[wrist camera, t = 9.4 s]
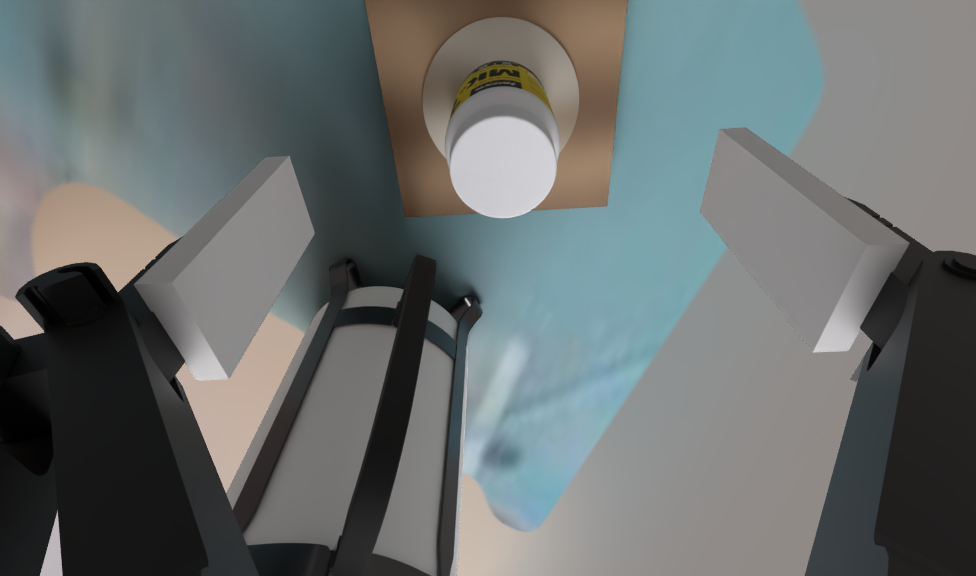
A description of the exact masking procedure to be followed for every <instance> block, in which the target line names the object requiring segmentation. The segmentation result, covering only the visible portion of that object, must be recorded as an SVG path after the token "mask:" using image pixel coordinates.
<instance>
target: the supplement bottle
mask: <svg viewBox="0 0 976 576" xmlns="http://www.w3.org/2000/svg"><path fill="white" fill-rule="evenodd" d="M559 152H560V132H559V128H558V124H557V121H556V118H555V116H554V113H553V111H552V108H551V106H550V103H549V100H548V98H547V95H546V92H545V90H544V87H543V85H542V84H541V82H540V80H539V79H538V78H537V76H536V75H535V74H534V73H533V72H532V71H531V70H530V69H528V68H527V67H525V66H524V65H522V64H519V63H517V62H514V61H510V60H494V61H490V62H487V63H484V64H482V65H480V66H478V67H477V68H475V69H474V70H473V71H472V72H471V73H469V75H468V76H467V77H466V78H465V79H464V81H463V82H462V84H461V85H460V87H459V89H458V92H457V95H456V97H455V101H454V105H453V109H452V112H451V115H450V119H449V123H448V126H447V130H446V135H445V155H446V160H447V164H448V167H449V172H450V178H451V181H452V184H453V187H454V189H455V191H456V193H457V194H458V196H459V197H460V198H461V200H462V201H463V202H464V203H465V204H466V205H468V206H469V207H470V208H471V209H473V210H475V211H476V212H478V213H480V214H483V215H485V216H489V217H494V218H511V217H515V216H519V215H522V214H525V213H527V212H528V211H530V210H532V209H533V208H535V207H536V206H538V205H539V204H540V203H541V202H542V201H543V200H544V199H545V197H546V196H547V195H548V193H549V192H550V190H551V188H552V186H553V183H554V181H555V177H556V172H557V161H558V157H559Z"/></svg>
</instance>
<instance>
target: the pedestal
mask: <svg viewBox="0 0 976 576" xmlns="http://www.w3.org/2000/svg"><path fill="white" fill-rule="evenodd" d="M627 2H628V0H365V5H366V10H367V15H368V21H369V26H370V32H371V37H372V42H373V48H374V53H375V59H376V64H377V69H378V75H379V80H380V86H381V91H382V96H383V102H384V107H385V113H386V118H387V123H388V129H389V134H390V140H391V145H392V150H393V156H394V161H395V166H396V172H397V177H398V183H399V188H400V193H401V199H402V204H403V210H404V215H405V217H420V216H439V215H457V214H475V213H478V212H476V211H475V210H473V209H471V208H470V207H469V206H468V205H466V204H465V203H464V202H463V201H462V200H461V198H460V197H459V196H458V194H457V193H456V191H455V189H454V187H453V184H452V181H451V178H450V172H449V167H448V164H447V160H446V155H445V135H446V130H447V126H448V123H449V119H450V115H451V112H452V109H453V105H454V101H455V97H456V95H457V92H458V89H459V87H460V85H461V84H462V82H463V81H464V79H465V78H466V77H467V76H468V75H469V73H471V72H472V71H473V70H474V69H475V68H477V67H478V66H480V65H482V64H484V63H487V62H490V61H494V60H510V61H514V62H517V63H519V64H522V65H524V66H525V67H527V68H528V69H530V70H531V71H532V72H533V73H534V74H535V75H536V76H537V78H538V79H539V80H540V82H541V84H542V85H543V87H544V90H545V92H546V95H547V98H548V100H549V103H550V106H551V108H552V111H553V113H554V116H555V118H556V121H557V124H558V128H559V132H560V152H559V157H558V161H557V172H556V177H555V181H554V183H553V186H552V188H551V190H550V192H549V193H548V195H547V196H546V197H545V199H544V200H543V201H542V202H541V203H540V204H539V205H538V206H536V207H535V208H533V209H532V210H549V209H567V208H586V207H604V206H607V204H608V194H609V184H610V174H611V164H612V154H613V144H614V134H615V123H616V113H617V103H618V93H619V83H620V73H621V63H622V53H623V43H624V32H625V22H626V12H627ZM530 211H531V210H530Z"/></svg>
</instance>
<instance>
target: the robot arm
mask: <svg viewBox="0 0 976 576" xmlns="http://www.w3.org/2000/svg"><path fill="white" fill-rule="evenodd" d="M700 212H701V214H702V215H703V216H704V217H705V219H706V220H707V221H708V222H709V224H710V225H711V226H712V227H713V229H714V230H715V231H716V232H717V234H718V235H719V236H720V237H721V239H722V240H723V241H724V242H725V244H726V245H727V246H728V247H729V249H730V250H731V251H732V252H733V253H734V255H735V256H736V257H737V258H738V260H739V261H740V262H741V264H742V265H743V266H744V267H745V269H746V270H747V271H748V272H749V274H750V275H751V276H752V277H753V279H754V280H755V281H756V282H757V283H758V285H759V286H760V287H761V288H762V290H763V291H764V292H765V293H766V295H767V296H768V297H769V299H770V300H771V301H772V302H773V304H774V305H775V306H776V307H777V308H778V310H779V311H780V312H781V314H782V315H783V316H784V317H785V319H786V320H787V321H788V322H789V324H790V325H791V326H792V327H793V328H794V330H795V331H796V332H797V333H798V335H799V336H800V337H801V338H802V340H803V341H804V342H805V343H806V345H807V346H808V347H809V348H810V350H811V351H812V352H832V351H848V350H849V349H850V347H851V345H852V343H853V341H854V340H855V338H856V336H857V335H858V333H859V331H860V329H861V330H862V331H863V332H864V333H865V334H866V335H867V336H868V337H869V338H870V339H871V340H872V341H873V343H872V344H871V346H870V348H869V349H868V351H867V352H866V354H865V356H864V357H863V359H862V361H861V362H860V364H859V366H858V367H857V369H856V371H855V372H854V374H853V375H852V377H851V379H850V380H853V381H857V380H858V382H857V386H856V389H855V393H854V397H853V401H852V404H851V408H850V411H849V415H848V419H847V422H846V426H845V430H844V434H843V437H842V441H841V444H840V448H839V452H838V455H837V459H836V463H835V466H834V470H833V474H832V477H831V481H830V485H829V489H828V492H827V496H826V500H825V503H824V507H823V511H822V514H821V518H820V522H819V525H818V529H817V532H816V537H815V540H814V543H813V547H812V551H811V555H810V558H809V562H808V565H807V569H806V573H805V576H976V256H975V255H972V254H968V253H962V252H956V251H935V252H932V251H931V250H929V249H928V248H926V247H925V246H923V245H922V244H920V243H919V242H917V241H916V240H915V239H913V238H912V237H910V236H909V235H907V234H906V233H904V232H903V231H901V230H900V229H899V228H897V227H893V225H892V224H891V223H890V222H888V221H887V220H886V219H884V218H880V215H878V214H877V213H875V212H874V211H872V210H871V209H869V208H868V207H867V206H865V205H863V204H861V203H858V202H856V201H853V200H851V199H849V198H846V197H844V196H842V195H841V194H839V193H838V192H836V191H835V190H834V189H832V188H831V187H829V186H828V185H827V184H825V183H824V182H822V181H821V180H819V179H818V178H816V177H815V176H814V175H812V174H811V173H809V172H808V171H807V170H805V169H804V168H802V167H801V166H800V165H798V164H797V163H795V162H794V161H793V160H791V159H790V158H788V157H787V156H785V155H784V154H783V153H781V152H780V151H778V150H777V149H775V148H774V147H773V146H771V145H770V144H768V143H767V142H766V141H764V140H763V139H761V138H760V137H758V136H757V135H756V134H754V133H753V132H751V131H750V130H749V129H747V128H746V127H745V128H729V129H720V130H719V134H718V138H717V143H716V147H715V151H714V155H713V159H712V163H711V167H710V172H709V176H708V180H707V184H706V188H705V192H704V197H703V201H702V205H701V209H700ZM314 234H315V232H314V229H313V226H312V223H311V220H310V217H309V214H308V211H307V208H306V205H305V202H304V199H303V196H302V193H301V190H300V186H299V183H298V180H297V177H296V174H295V171H294V168H293V165H292V162H291V159H290V156H279V157H265V158H264V159H263V160H262V161H261V162H260V163H259V164H258V165H257V166H256V167H255V168H254V169H253V170H252V171H250V172H249V173H248V174H247V175H246V176H245V177H244V178H243V179H242V180H241V181H240V182H239V183H238V184H237V185H236V186H235V187H234V188H233V189H232V190H231V191H230V192H229V193H228V194H227V195H226V196H225V197H224V198H223V199H222V200H221V201H219V202H218V203H217V204H216V205H215V206H214V207H213V208H212V209H211V210H210V211H209V212H208V213H207V214H206V215H205V216H204V217H203V218H202V219H201V220H200V221H199V222H198V223H197V224H196V225H195V226H194V227H193V228H192V229H191V230H190V231H188V232H187V233H186V234H185V235H184V236H183V237H181V238H180V239H178V240H176V241H175V242H173V243H171V244H169V245H168V246H167V247H166V248H165V249H164V250H162V251H161V252H160V253H159V254H158V255H157V256H156V257H155V258H156V259H154V260H152V261H151V262H150V263H149V264H148V265H147V266H146V267H145V269H143V270H141V271H140V272H139V273H138V274H137V275H136V276H135V277H134V278H133V279H132V280H131V281H130V282H129V283H128V284H127V285H126V286H125V287H123V288H122V289H121V290H120V291H119V292H117V291H116V289H115V288H114V286H113V285H112V283H111V282H110V280H109V279H108V278H107V276H106V275H105V273H104V272H103V270H102V269H101V268H100V267H99V266H98V265H97V264H95V263H88V262H84V263H75V264H70V265H67V266H63V267H59V268H56V269H54V270H51V271H49V272H46V273H44V274H41V275H39V276H38V277H36V278H34V279H32V280H31V281H29V282H27V283H26V284H25V285H24V286H23V287H21V288H20V289H19V290H18V292H17V294H16V296H15V298H16V299H17V300H18V301H19V302H20V303H21V305H23V307H24V308H25V309H26V310H27V312H28V313H29V314H30V315H31V316H32V317H33V318H34V320H35V321H36V322H37V323H38V324H39V325H40V326H41V328H42V329H43V330H44V333H41V334H37V335H33V336H29V337H25V338H21V339H16V340H14V339H13V338H12V337H11V336H10V335H9V334H8V333H7V332H6V330H5V329H4V328H3V327H2V326H0V576H40V573H41V568H42V565H43V562H44V558H45V554H46V550H47V547H48V543H49V539H50V536H51V532H52V528H53V525H54V521H55V518H56V513H57V510H58V518H59V532H60V545H61V558H62V571H63V576H259V574H258V572H257V569H256V567H255V564H254V562H253V559H252V557H251V554H250V552H249V549H248V547H247V544H246V542H245V539H244V537H243V535H242V532H241V530H240V527H239V525H238V522H237V520H236V517H235V515H234V512H233V510H232V507H231V505H230V502H229V500H228V497H227V495H226V493H225V490H224V488H223V486H222V483H221V480H220V478H219V475H218V473H217V470H216V468H215V465H214V463H213V461H212V458H211V456H210V453H209V451H208V448H207V446H206V443H205V441H204V438H203V436H202V433H201V431H200V428H199V426H198V423H197V421H196V419H195V416H194V414H193V411H192V409H191V406H190V404H189V401H188V399H187V397H186V394H185V391H184V389H183V386H182V385H181V384H180V382H179V381H178V379H177V378H176V376H175V375H176V373H177V372H178V371H179V369H180V368H181V367H182V365H183V364H184V362H185V364H186V365H187V367H188V369H189V370H190V371H191V373H192V375H193V376H194V378H195V379H196V381H199V380H220V379H221V380H222V379H229V378H230V377H231V375H232V373H233V371H234V370H235V368H236V366H237V365H238V363H239V361H240V359H241V358H242V356H243V355H244V353H245V351H246V349H247V348H248V346H249V344H250V343H251V341H252V339H253V337H254V336H255V334H256V333H257V331H258V329H259V327H260V326H261V324H262V322H263V320H264V319H265V317H266V316H267V314H268V312H269V310H270V309H271V307H272V305H273V304H274V302H275V300H276V299H277V297H278V295H279V294H280V292H281V290H282V288H283V287H284V285H285V283H286V282H287V280H288V278H289V277H290V275H291V273H292V271H293V270H294V268H295V266H296V265H297V263H298V261H299V260H300V258H301V256H302V255H303V253H304V251H305V249H306V248H307V246H308V244H309V243H310V241H311V239H312V238H313V236H314Z"/></svg>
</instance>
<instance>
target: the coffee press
mask: <svg viewBox="0 0 976 576" xmlns="http://www.w3.org/2000/svg"><path fill="white" fill-rule="evenodd" d="M435 273H436V260H434V259H430V258H427V257H424V256H421V255H416V257H415V259H414V261H413V264H412V267H411V270H410V272H409V275H408V278H407V281H406V284H405V287H404V289H400V288H395V287H386V286H373V287H364V288H363V286H362V283H361V280H360V276H359V272H358V269H357V266H356V265H355V263H354V262H353V261H352V260H351V259H349V258H348V259H345V260H343V261H340V262H338V263H335V264H333V265H331V266H330V268H329V274H330V281H331V299H330V301H329V302H328V303H327V304H326V305H324V306H323V307H322V308H321V309H320V310H319V312H318V313H317V314H316V316H315V317H314V319H313V320H312V322H311V324H310V326H309V328H308V330H307V331H306V333H305V335H304V337H303V339H302V342H301V344H300V345H299V347H298V349H297V351H296V354H295V355H294V357H293V359H292V362H291V363H290V365H289V367H288V369H287V372H286V374H285V376H284V378H283V380H282V382H281V384H280V386H279V388H278V390H277V392H276V394H275V396H274V398H273V400H272V402H271V404H270V406H269V408H268V410H267V412H266V414H265V416H264V418H263V420H262V422H261V424H260V427H259V428H258V431H257V432H256V434H255V436H254V438H253V440H252V442H251V444H250V446H249V449H248V451H247V453H246V455H245V457H244V459H243V461H242V463H241V465H240V467H239V469H238V471H237V473H236V475H235V477H234V479H233V481H232V483H231V485H230V487H229V489H228V491H227V493H226V495H227V497H228V500H229V502H230V505H231V507H232V510H233V512H234V515H235V517H236V520H237V522H238V525H239V527H240V530H241V532H242V535H243V537H244V539H245V542H246V544H247V547H248V549H249V552H250V554H251V557H252V559H253V562H254V564H255V567H256V569H257V572H258V574H259V576H457V571H458V551H459V533H460V514H461V494H462V476H463V457H464V438H465V418H466V399H467V378H468V347H467V338H468V334H469V331H470V330H471V328H472V327H473V325H474V324H475V323H476V322H477V320H478V319H479V318H480V317H481V315H482V313H483V311H482V309H481V307H480V305H479V304H478V302H477V300H476V299H475V297H474V296H466V297H464V298H462V299H461V300H460V301H459V302H458V303H457V304H456V305H454V306H453V307H452V308H451V309H450V310H449V311H446V310H445V309H444V308H443V307H441V306H440V305H439V304H437V303H436V302H434V301H433V300H431V298H432V292H433V286H434V280H435Z"/></svg>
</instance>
